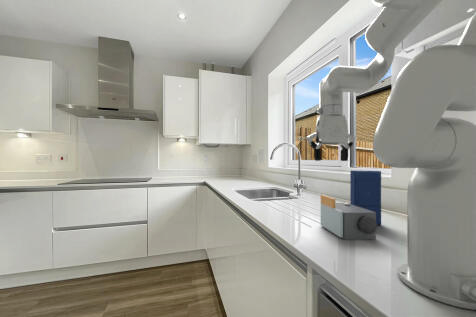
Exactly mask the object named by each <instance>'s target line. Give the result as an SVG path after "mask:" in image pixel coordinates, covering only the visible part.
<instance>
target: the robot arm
mask: <svg viewBox="0 0 476 317" xmlns="http://www.w3.org/2000/svg"><path fill="white" fill-rule="evenodd" d="M371 1H372V3H373V4H374V5H375V6H377V7H381V8H382V10H381V11H380V12H379V14H378V15H377V16H376V17H375V19H373V21H372V22H371V23H370V25H369V26H368V27H367V29H366V31H365V35H364V37H365V41H366V43H367V45H368V47H370V48H371V49H372V50H373V51H374V52H376V53H377V54H376V56H375V57H374V59H373V60H371V62H370V63H368V65H367V66H366V67H359V66H357V67H356V66H347V65H338V66H335V67H333V68H331V70H330V71H329V72H328V74H327V75H326V76H325V77H323V78H322V79H321V80H320V81H319V108H317V109H316V110H315V113H316V114H318V117H317V120H316V125H315V132H314V133H312V134H310V135H308V136H306V139H307V142H308V144H309V146H310V147H311V148H312V150H313V157H314V158H313V159H314V161H316V162H317V161H319V162H320V161H321V160H322V149H321V147H322V145H329V146H330V145H335V146H337V145H338V146H339V147H340V149H341V150H340V161H342V162H348V160H349V150H350V149H351V147H352V146H353V144H354V142H355V140H356V137H355V136H353V135H351V134H349V128H348V127H349V126H348V120H347V118H346V115H344V112H343V111H344V103H343V102H344V100H343V98H344V95H343V94H344V93H355V94H357V93H358V94H359V93H360V94H361V93H365V92H367V91H369V90H370V89H372V88H373V87H374V86H376V85H377V84H378V83H380V81H381V80H382V79H383V78H384V77H386V75H387V74H388V73H389V71H390V68H391V66H392V64H393V61H394V59H395V54H396V52H395V50H396V48H397V47H398V46H400V44H401V43H402V42H403V41H404V40H405V39H406V38H407V37H408V36H409V35H410V34H411V33H412V32H413V31H414V30H415V29H416V28H417V27H418V26H419V25H420V24H421V23H422V22H423V21H424V20H425V19H426V18H427V17H428V16H429V15H430V14H431V13H432V12H433V11H434V10H436V7H438V6H439V5H440V4H441V3H442V2H443V0H371ZM386 100H387V101H386V103H385V105H384V109H383V111H382V113H381V115H380V118H379V119H378V122H377V125H376V129H375V131H374V134H373V139H372V151H373V154H374V156H375V158H376V159H377V160H378V161H379V162H380V163H381V164H383V165H385V166H387V167H391V168H397V169H414V170H413V173H412V174H411V177H410V179H409V182H408V186H407V196H406V197H407V199H406V202H407V205H406V206H407V207H406V208H407V210H406V211H407V214H406V215H407V219H406V220H407V221H406V222H407V223H406V224H407V225H406V226H407V228H406V229H407V230H406V231H407V235H406V237H407V244H406V247H407V263H404V264H401V265H398V267H397V276H398V278H399V279H400V280H401V281H402V282H403V283H404V284H405V285H407V286H408V287H409V288H411V289H412V290H414V291H416V292H417V293H420V294H422V295H423V296H426V297H428V298H430V299H432V300H436V301H438V302H440V303H444V304H446V305H449V306H453V307H458V308H461V309H467V310H473V311H475V310H476V124H475V123H473V122H471V121H469V120H465V119H461V118H458V117H457V118H456V117H444V113H445V112H446V111H448V112H449V111H450V112H476V11H475V12H474V13H473V15H472V16H471V18H470V20H469V21H468V23H467V24H466V26H465V28H464V31H463V33H462V35H461V37H460V39H459V41H458V43H457V44H440V45H436V46H431V47H430V48H426V49H424V50H423V51H421V52H419V53H417V54H416V55H415V56H413V57H412V58H411V59H409V61H408V62H407V63H406V64H405V65H404V66H403V68H402V69H401V70H400V72H399V73H398V75H397V77H396V79H395V80H394V83H393V85H392V88H391V90H390V93H389V95H388V97H387V99H386ZM314 139H315V141H314Z"/></svg>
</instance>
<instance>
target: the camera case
mask: <svg viewBox="0 0 476 317" xmlns="http://www.w3.org/2000/svg"><path fill="white" fill-rule="evenodd" d="M335 208H336V209H338V210H341V211H343V237H340V238H342V240H346V241H347V240H376V239H377V229H378V228H377V227H378V225H377V223H376V212H373V211H370V210H367V209H364V208H361V207H358V206H355V205H352V204H350V203H349V202H335Z"/></svg>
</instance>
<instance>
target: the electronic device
mask: <svg viewBox="0 0 476 317" xmlns="http://www.w3.org/2000/svg"><path fill="white" fill-rule="evenodd" d="M349 173H350V175H349V176H350V180H349V181H350V182H349V183H350V188H349V190H350V191H349V192H350V199H349V200H350V204H352V205H355V206H358V207H361V208H364V209H367V210H370V211H373V212H376V223H377V226H381V225H382V171H381V170H350V172H349Z"/></svg>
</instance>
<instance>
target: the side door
mask: <svg viewBox="0 0 476 317" xmlns="http://www.w3.org/2000/svg"><path fill="white" fill-rule="evenodd" d="M335 203H336V198H334V197H330V196H327V195H325V194H320V226H322V227H323V228H325V229H327V231H329V232H331V233H333V234H334V235H336V236H338V237H339V238H341V237H343V211H341V210H338V209H336V208H335Z"/></svg>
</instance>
